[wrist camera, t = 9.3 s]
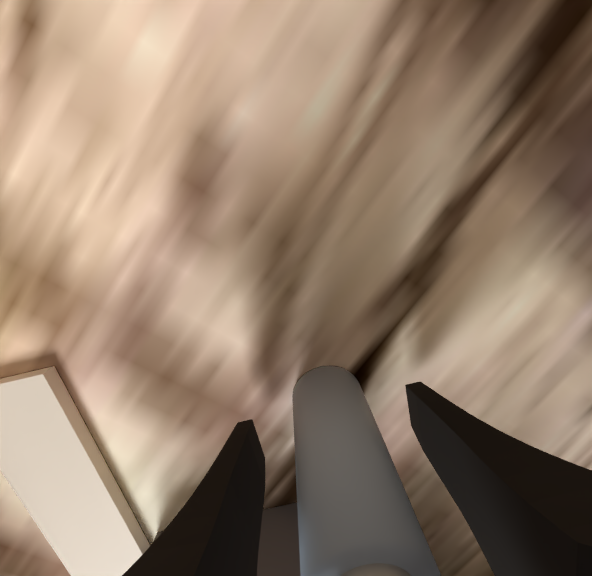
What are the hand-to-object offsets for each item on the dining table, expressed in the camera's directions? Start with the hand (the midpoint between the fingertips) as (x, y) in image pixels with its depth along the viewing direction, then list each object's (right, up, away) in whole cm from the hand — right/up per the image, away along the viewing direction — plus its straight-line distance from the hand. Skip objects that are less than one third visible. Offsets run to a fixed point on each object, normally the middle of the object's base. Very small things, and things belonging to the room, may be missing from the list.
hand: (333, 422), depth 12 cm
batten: (-12, -6, +3) cm, 14 cm away
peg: (0, 0, +2) cm, 2 cm away
